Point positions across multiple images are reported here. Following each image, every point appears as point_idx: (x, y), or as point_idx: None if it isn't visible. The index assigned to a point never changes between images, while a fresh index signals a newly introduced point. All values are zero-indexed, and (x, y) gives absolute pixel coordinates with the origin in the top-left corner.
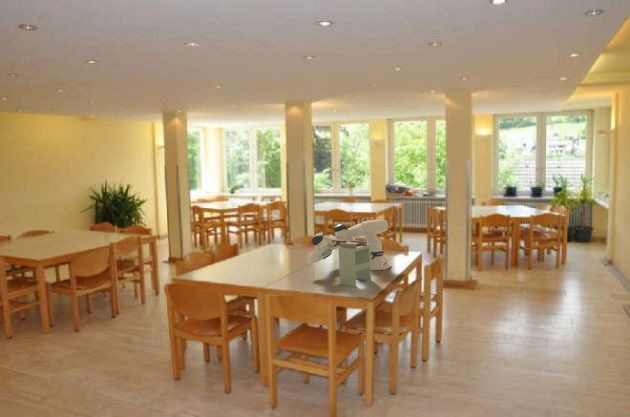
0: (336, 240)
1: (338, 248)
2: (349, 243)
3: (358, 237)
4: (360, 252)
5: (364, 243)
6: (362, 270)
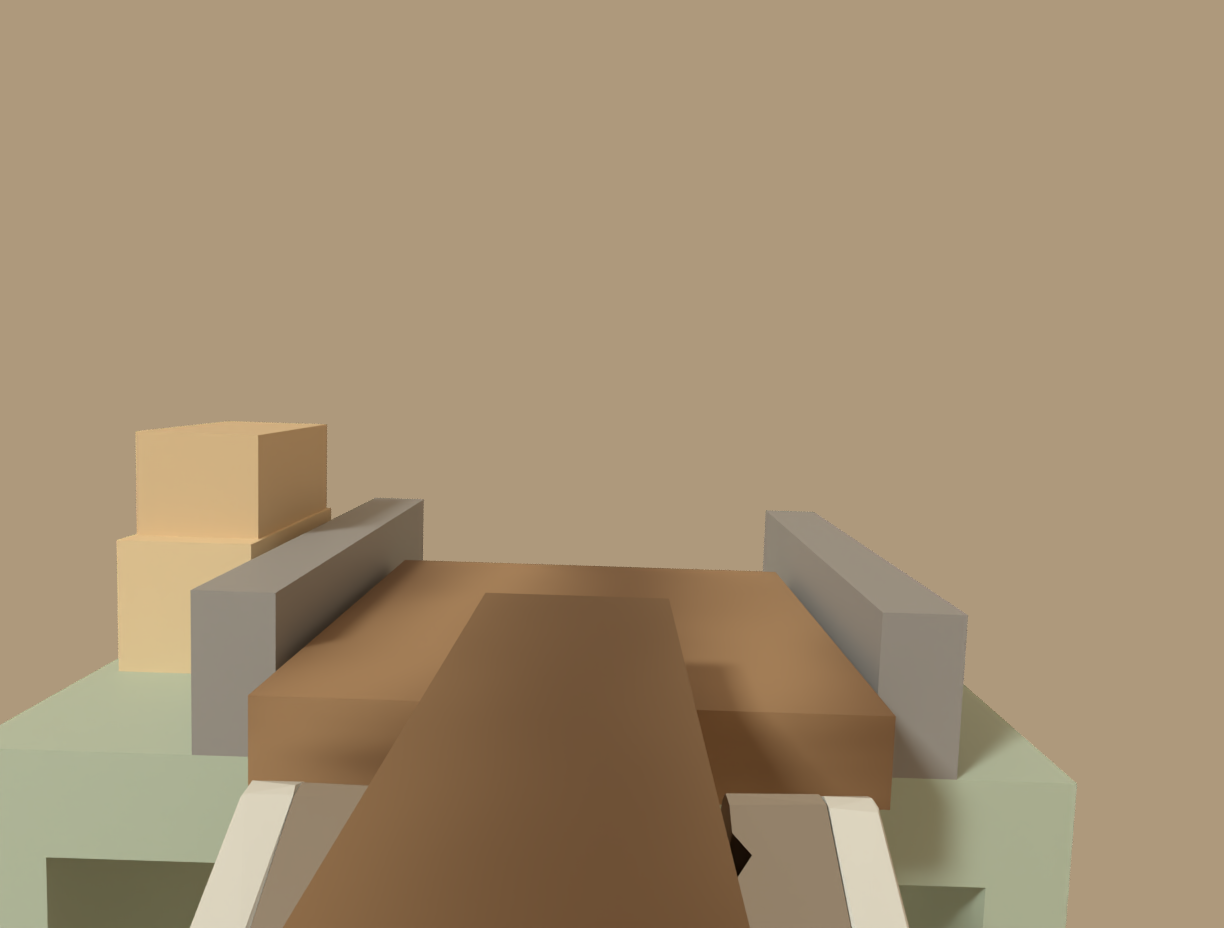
0: (704, 749)
1: (1073, 815)
2: (823, 540)
3: (262, 446)
4: (185, 905)
5: (416, 547)
6: None
